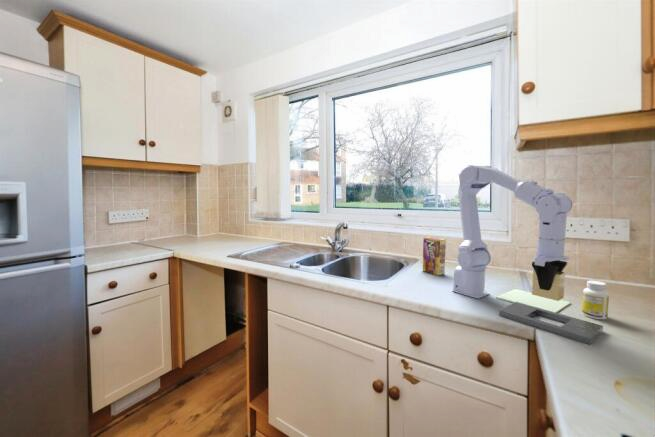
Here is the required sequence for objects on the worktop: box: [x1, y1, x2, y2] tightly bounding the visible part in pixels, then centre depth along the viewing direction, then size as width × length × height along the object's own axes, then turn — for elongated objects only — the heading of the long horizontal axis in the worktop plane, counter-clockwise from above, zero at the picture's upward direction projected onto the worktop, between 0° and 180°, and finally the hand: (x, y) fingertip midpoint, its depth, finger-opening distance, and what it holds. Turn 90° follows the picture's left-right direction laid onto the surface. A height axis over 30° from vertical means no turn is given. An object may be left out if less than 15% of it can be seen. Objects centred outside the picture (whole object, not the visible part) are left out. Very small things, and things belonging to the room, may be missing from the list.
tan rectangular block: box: [531, 269, 566, 301], centre depth 80 cm, size 6×4×7 cm, turn 35°
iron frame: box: [498, 302, 604, 346], centre depth 79 cm, size 20×11×2 cm, turn 35°
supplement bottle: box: [581, 280, 610, 320], centre depth 83 cm, size 5×5×10 cm
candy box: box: [422, 236, 447, 276], centre depth 128 cm, size 9×4×15 cm, turn 32°
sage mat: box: [496, 288, 572, 313], centre depth 95 cm, size 16×14×1 cm
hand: (547, 287), depth 80 cm, fingers closed on tan rectangular block, 4 cm apart
